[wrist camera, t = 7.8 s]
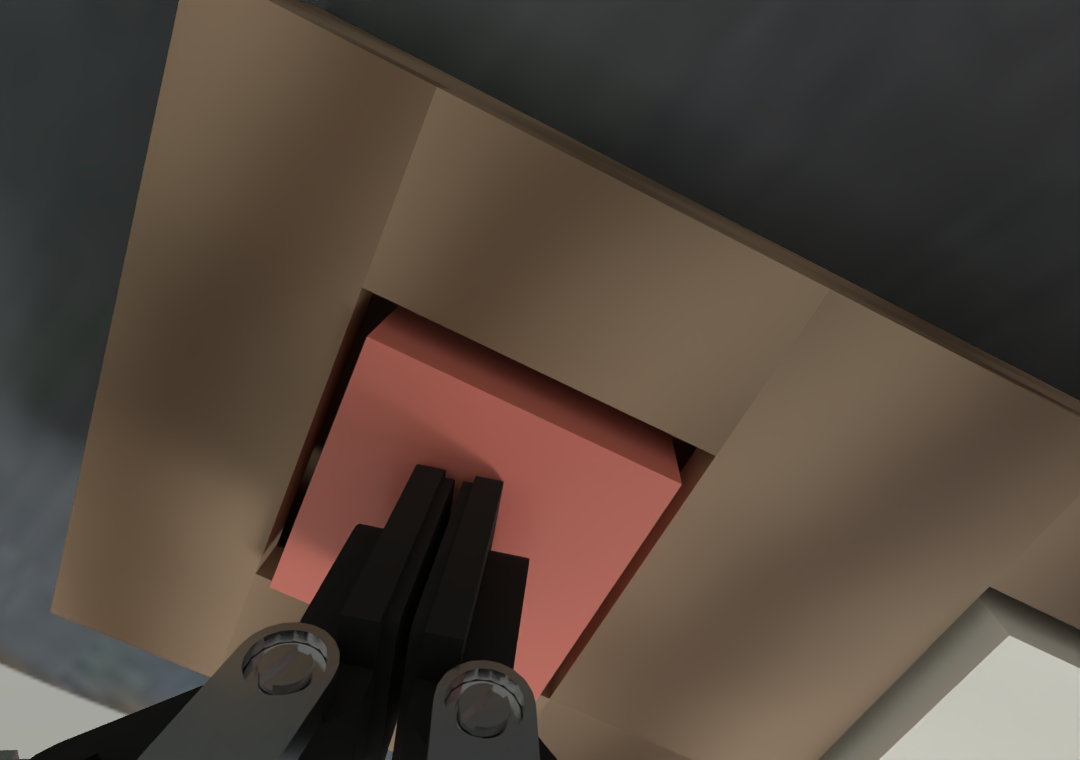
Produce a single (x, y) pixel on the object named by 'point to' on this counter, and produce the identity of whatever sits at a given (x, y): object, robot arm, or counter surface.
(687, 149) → the counter surface
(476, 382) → the red key
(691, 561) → the panel
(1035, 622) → the white key
